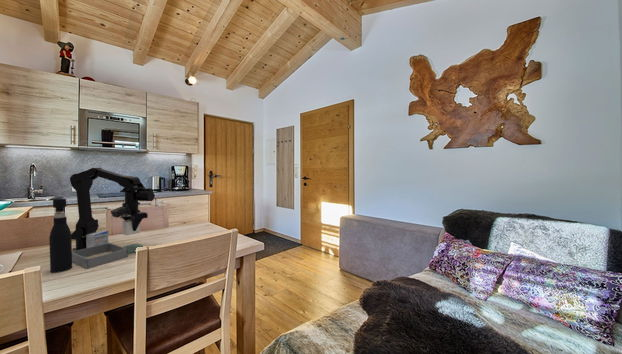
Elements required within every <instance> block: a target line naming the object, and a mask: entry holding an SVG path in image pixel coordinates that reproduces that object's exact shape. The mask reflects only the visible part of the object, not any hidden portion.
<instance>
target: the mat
mask: <svg viewBox="0 0 622 354" xmlns="http://www.w3.org/2000/svg"><path fill="white" fill-rule="evenodd" d="M143 246H144V245H142V244H139V243H132V244H128V245H125V246H123V247H124V248H127V249H128V255H130V254H134V253H136V252H135V250H136V248H137V247H143Z"/></svg>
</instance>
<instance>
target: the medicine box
mask: <svg viewBox="0 0 622 354" xmlns="http://www.w3.org/2000/svg"><path fill="white" fill-rule="evenodd" d="M107 243H109V231H108V230H99V231H98V230H97V231H96V232H95V233H91V234H88V235H86V244H87V248H89V247H94V246H98V245H102V244H107Z"/></svg>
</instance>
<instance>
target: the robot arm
mask: <svg viewBox="0 0 622 354" xmlns="http://www.w3.org/2000/svg"><path fill="white" fill-rule="evenodd" d="M98 178H101V179H105V180H108V181H110V182H115V183H116V184H118V185H119V186H121V187H123V188H122V189H121V190H120V191H119V192H120V193H124V202H122V203H121V205H122V206H119V207H116V208H114V209H112V210H110V213H111V215H112V217H113V218H120V219H122V220H123V221H124V220H130V221H131V222H132V228H133V231H136V229H137V227H138V226H139V224H140V225H141V222H142V220H143V219H148V215H149V214H148V212H146V211H145V212H144V211H141V210H140V209H139V205H141V202H152V201H154V199H155V195H156V193H155V192H154V191H153V188H150V187H149V188H146V187H145V186H144V184H143V183H142V182H141V179H140V177H138V176H133V175H125V174H124V175H123V174H120V173H117V172H114V171H109V170H107V169H105V168H102V167H91V168H89V169H87V170H82V171H81V172H78V173H74V174H72V175H71V176H70V177H69V181H70V184H71V187H72V188H73V189H74V190H75V192H76V200H77V209H78V211H77V212H78V217H79V218H78V220H77V221H76V223H75V230H74V231H73V232H71V239H72V241H73V240H75V247H72V251H77V250H81V249H85V248H87V244H86V235H88V234H91V233H95V232H98V230H99V227H100V226H99V220H98V219H95V218H94V217H93V213H92V212H93V211H92V201H91V200H92V199H91V193H90V191H91V188H92V186H93V182H94V180H97V179H98Z"/></svg>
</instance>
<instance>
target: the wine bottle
mask: <svg viewBox="0 0 622 354" xmlns="http://www.w3.org/2000/svg"><path fill="white" fill-rule="evenodd" d="M65 207H67V198H55V199H54V198H53V199H52V208H54V209H55V212H54V216H53V226H52V227H51V230H50V232H49V239H48V240H49V272H50V273H55V274H56V273H61V272H65V271H68V270H70V269H72V268H73V262H72V251H73V247H72V241H73V240H72V239H71V234H72V231H71V229H70V227H69V225H68V222H67V215H66V212H65Z"/></svg>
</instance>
